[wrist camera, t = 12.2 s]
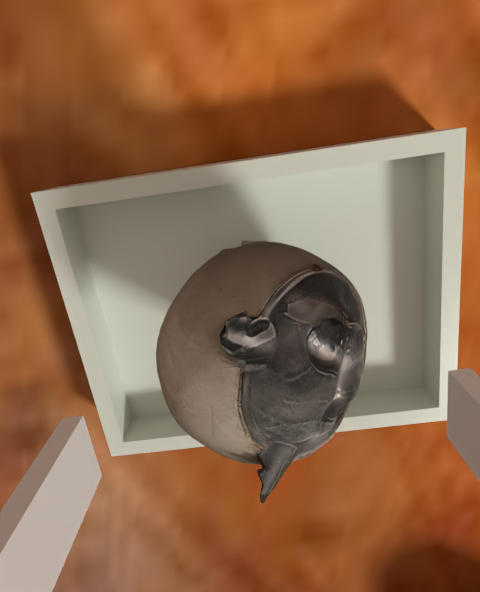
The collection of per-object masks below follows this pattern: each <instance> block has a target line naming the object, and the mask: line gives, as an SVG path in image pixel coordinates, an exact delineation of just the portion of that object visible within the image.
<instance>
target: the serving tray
mask: <svg viewBox="0 0 480 592" xmlns="http://www.w3.org/2000/svg"><path fill="white" fill-rule="evenodd" d="M465 146H466V127H464V128H450V129H436V130H429V131H422V132H416V133H409V134H403V135H396V136H389V137H383V138H376V139H369V140H363V141H356V142H350V143H343V144H336V145H330V146H323V147H317V148H310V149H303V150H297V151H290V152H283V153H277V154H270V155H264V156H257V157H250V158H244V159H237V160H230V161H224V162H217V163H211V164H204V165H197V166H191V167H184V168H177V169H171V170H164V171H158V172H151V173H144V174H138V175H131V176H125V177H118V178H111V179H105V180H98V181H91V182H85V183H78V184H72V185H65V186H59V187H54V188H50V189H46V190H41V191H37V192H33V193H31V196H32V199H33V202H34V206H35V209H36V212H37V216H38V219H39V222H40V225H41V229H42V232H43V235H44V238H45V242H46V245H47V248H48V251H49V255H50V258H51V261H52V264H53V268H54V271H55V274H56V277H57V281H58V284H59V287H60V290H61V294H62V297H63V300H64V303H65V307H66V310H67V313H68V316H69V320H70V323H71V326H72V329H73V333H74V336H75V339H76V342H77V346H78V349H79V352H80V355H81V359H82V362H83V365H84V368H85V372H86V375H87V378H88V381H89V385H90V388H91V391H92V394H93V398H94V401H95V404H96V407H97V411H98V414H99V417H100V420H101V424H102V427H103V430H104V433H105V437H106V440H107V443H108V446H109V450H110V453H111V456H120V455H129V454H138V453H148V452H157V451H166V450H175V449H185V448H194V447H203V446H204V445H203V444H201V443H199V442H198V441H196V440H195V439H193V438H192V437H191V436H190V435H188V434H187V433H186V432H185V431H184V430H183V429H182V428H181V427H180V426H179V424H178V423H177V422H176V420H175V419H174V417H173V415H172V414H171V412H170V410H169V408H168V406H167V404H166V402H165V399H164V396H163V393H162V389H161V385H160V381H159V377H158V373H157V364H156V348H157V339H158V336H159V332H160V328H161V325H162V323H163V320H164V318H165V316H166V313H167V311H168V309H169V307H170V305H171V304H172V302H173V300H174V299H175V297H176V296H177V294H178V293H179V291H180V290H181V288H182V287H183V286H184V284H185V283H186V281H187V280H188V279H189V278H190V276H191V275H192V274H193V273H194V272H195V271H196V270H197V269H198V268H200V267H201V266H202V265H203V264H204V263H206V262H207V261H208V260H209V259H211V258H212V257H214V256H215V255H217V254H219V253H220V251H221V250H224V249H230V248H235V247H239V246H241V244H242V241H267V242H278V243H283V244H287V245H291V246H295V247H298V248H301V249H304V250H306V251H308V252H310V253H312V254H314V255H316V256H318V257H319V258H321V259H323V260H325V261H326V262H328V263H330V264H331V265H333V266H334V267H336V268H337V269H338V270H339V271H340V272H342V273H343V274H344V275H345V276H346V277H347V278H348V279H349V280H350V281H351V283H352V284H353V285H354V287H355V288H356V290H357V292H358V293H359V295H360V297H361V300H362V303H363V306H364V311H365V316H366V322H367V347H366V359H365V366H364V371H363V374H361V381H360V386H359V391H358V393H357V394H356V396H355V397H354V399H353V400H352V401H351V403H350V405H349V408H348V410H347V412H346V414H345V416H344V418H343V420H342V422H341V424H340V425H339V427H338V429H337V430H336V432H341V431H351V430H360V429H369V428H378V427H387V426H397V425H406V424H415V423H424V422H434V421H443V420H447V401H448V371H452V370H457V360H458V333H459V306H460V280H461V253H462V226H463V200H464V173H465Z"/></svg>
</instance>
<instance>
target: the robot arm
mask: <svg viewBox="0 0 480 592" xmlns="http://www.w3.org/2000/svg"><path fill="white" fill-rule="evenodd" d="M447 437H448V439H449V440H450V441H451V443H452V444H453V446H454V447H455V448H456V450H457V451H458V453H459V454H460V455H461V457H462V458H463V460H464V461H465V462H466V464H467V465H468V467H469V468H470V469H471V471H472V472H473V474H474V475H475V476H476V478H477V479H478V481H479V482H480V377H479V376H478V375H477V374H476V373H475V372H474V371H473V370H472V369H471V368H468V369H460V370H452V371H448V401H447ZM101 477H102V474H101V471H100V468H99V465H98V461H97V458H96V455H95V452H94V449H93V446H92V442H91V439H90V436H89V433H88V430H87V426H86V423H85V420H84V417H83V416H75V417H67V418H62V420H61V421H60V423H59V424H58V426H57V427H56V429H55V430H54V432H53V433H52V435H51V436H50V438H49V439H48V441H47V442H46V444H45V445H44V447H43V448H42V450H41V451H40V453H39V454H38V456H37V457H36V459H35V460H34V462H33V463H32V465H31V466H30V468H29V469H28V471H27V472H26V474H25V475H24V477H23V478H22V480H21V481H20V483H19V484H18V486H17V487H16V489H15V490H14V492H13V493H12V495H11V496H10V498H9V499H8V501H7V502H6V504H5V505H4V507H3V508H2V510H1V511H0V592H52V591H53V588H54V586H55V584H56V581H57V579H58V577H59V574H60V572H61V570H62V567H63V565H64V563H65V560H66V558H67V556H68V553H69V551H70V549H71V546H72V544H73V542H74V539H75V537H76V535H77V532H78V530H79V528H80V525H81V523H82V521H83V518H84V516H85V514H86V511H87V509H88V507H89V504H90V502H91V500H92V498H93V495H94V493H95V491H96V488H97V486H98V484H99V481H100V479H101Z"/></svg>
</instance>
